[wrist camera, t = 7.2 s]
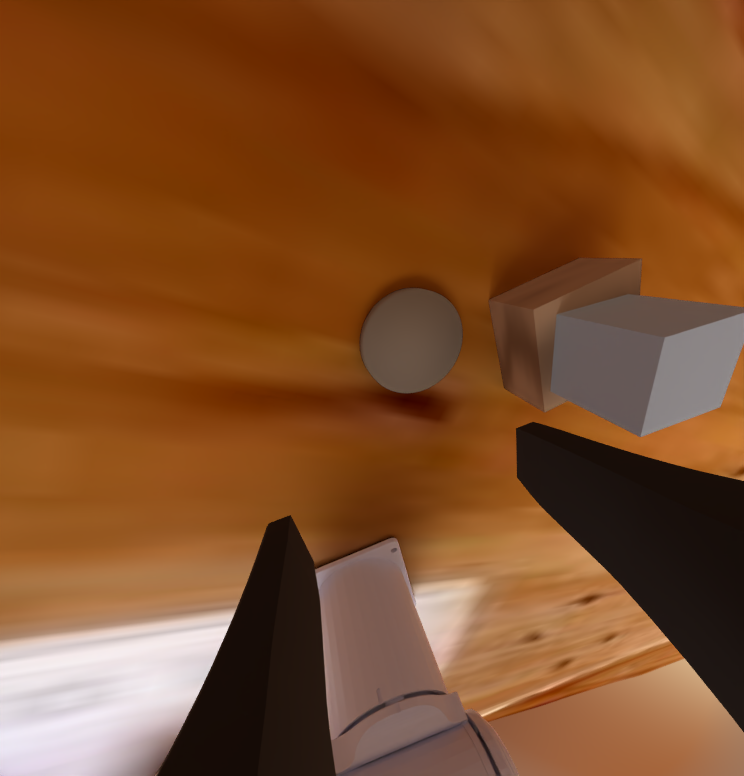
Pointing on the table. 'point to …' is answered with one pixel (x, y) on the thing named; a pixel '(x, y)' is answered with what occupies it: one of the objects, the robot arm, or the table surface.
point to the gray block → (646, 359)
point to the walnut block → (551, 319)
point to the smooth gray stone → (411, 340)
